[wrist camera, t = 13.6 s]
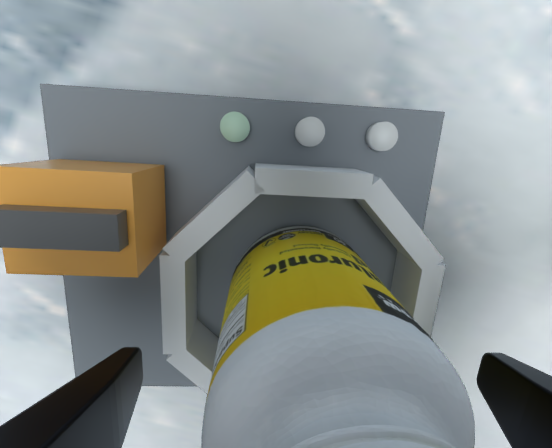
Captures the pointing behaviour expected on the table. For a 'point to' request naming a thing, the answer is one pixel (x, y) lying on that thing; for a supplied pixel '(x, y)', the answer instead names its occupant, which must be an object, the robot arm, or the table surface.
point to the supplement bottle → (326, 357)
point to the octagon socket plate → (242, 208)
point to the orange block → (81, 217)
